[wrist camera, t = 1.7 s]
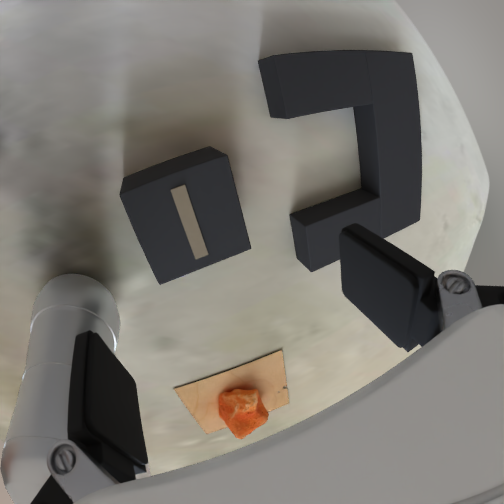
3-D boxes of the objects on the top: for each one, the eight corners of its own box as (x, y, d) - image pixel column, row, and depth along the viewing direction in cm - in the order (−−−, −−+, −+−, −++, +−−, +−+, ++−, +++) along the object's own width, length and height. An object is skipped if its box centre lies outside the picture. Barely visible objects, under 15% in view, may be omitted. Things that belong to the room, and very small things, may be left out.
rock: (281, 348, 30) (299, 376, 26) (288, 402, 36) (302, 425, 33) (173, 388, 27) (182, 421, 23) (206, 434, 33) (215, 460, 30)
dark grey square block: (123, 177, 17) (118, 194, 14) (210, 145, 18) (227, 154, 15) (154, 255, 20) (159, 286, 17) (232, 225, 21) (252, 249, 18)
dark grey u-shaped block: (257, 60, 16) (273, 55, 14) (391, 53, 19) (412, 53, 17) (296, 258, 25) (311, 273, 23) (403, 211, 27) (420, 220, 25)
